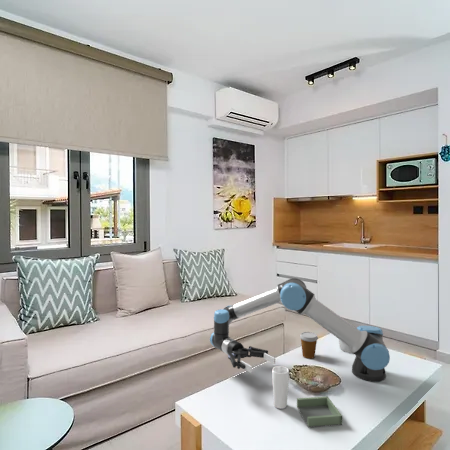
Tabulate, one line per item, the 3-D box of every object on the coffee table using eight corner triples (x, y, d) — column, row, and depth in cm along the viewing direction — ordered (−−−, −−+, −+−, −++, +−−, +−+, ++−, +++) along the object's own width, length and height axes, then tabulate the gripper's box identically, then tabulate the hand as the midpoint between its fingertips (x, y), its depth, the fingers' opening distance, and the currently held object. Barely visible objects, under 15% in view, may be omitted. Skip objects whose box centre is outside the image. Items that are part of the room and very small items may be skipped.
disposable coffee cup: (318, 360, 176) (318, 338, 175) (299, 359, 178) (300, 337, 177) (317, 353, 185) (317, 332, 185) (299, 351, 187) (299, 330, 187)
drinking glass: (270, 401, 139) (270, 366, 138) (286, 400, 139) (286, 365, 139) (273, 411, 132) (274, 374, 131) (290, 410, 133) (291, 373, 132)
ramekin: (366, 349, 191) (366, 337, 190) (357, 356, 181) (357, 344, 181) (344, 343, 200) (344, 331, 199) (334, 349, 190) (334, 337, 190)
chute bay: (327, 404, 136) (327, 396, 136) (342, 425, 123) (342, 415, 123) (296, 406, 135) (296, 398, 135) (308, 427, 122) (308, 418, 122)
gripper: (252, 349, 168) (283, 366, 151) (211, 362, 153) (240, 382, 136) (252, 335, 167) (283, 349, 150) (211, 346, 153) (240, 364, 135)
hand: (263, 365), depth 143 cm, fingers open, 13 cm apart
